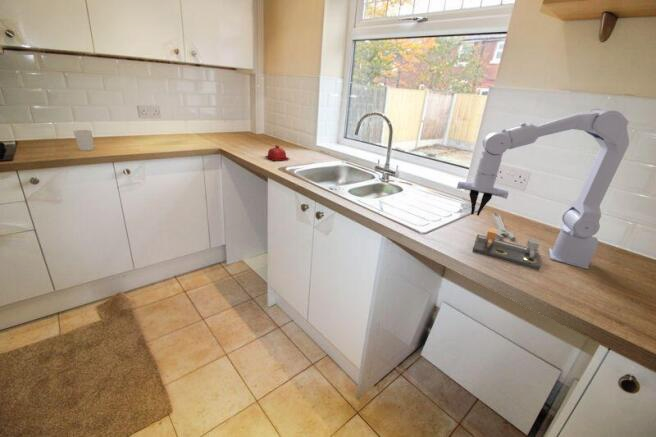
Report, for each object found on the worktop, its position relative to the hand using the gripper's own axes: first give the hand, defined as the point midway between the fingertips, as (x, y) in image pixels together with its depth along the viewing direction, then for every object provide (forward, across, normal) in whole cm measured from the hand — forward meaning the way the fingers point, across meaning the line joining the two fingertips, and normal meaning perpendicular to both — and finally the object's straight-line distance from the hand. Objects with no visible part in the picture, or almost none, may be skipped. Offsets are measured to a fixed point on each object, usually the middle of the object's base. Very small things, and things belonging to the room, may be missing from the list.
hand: (475, 214), depth 102 cm
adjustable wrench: (+10, -10, -20) cm, 24 cm away
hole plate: (+9, -11, +2) cm, 15 cm away
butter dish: (+10, +114, -44) cm, 123 cm away
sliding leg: (+8, -6, +2) cm, 10 cm away
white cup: (+10, +199, +18) cm, 200 cm away
